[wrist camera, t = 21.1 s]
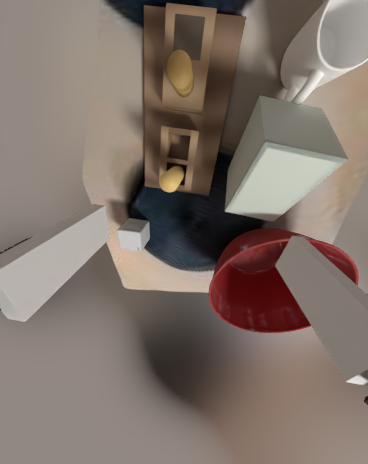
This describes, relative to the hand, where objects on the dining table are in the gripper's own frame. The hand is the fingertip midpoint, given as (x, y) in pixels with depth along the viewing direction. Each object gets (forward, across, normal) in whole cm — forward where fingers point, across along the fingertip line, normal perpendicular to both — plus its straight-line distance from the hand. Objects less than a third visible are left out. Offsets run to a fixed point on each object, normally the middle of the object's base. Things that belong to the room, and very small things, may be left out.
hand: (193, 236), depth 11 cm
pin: (+28, -5, 0) cm, 28 cm away
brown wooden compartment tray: (+29, -5, +10) cm, 31 cm away
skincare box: (+29, -15, -18) cm, 37 cm away
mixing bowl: (+29, +20, -20) cm, 40 cm away
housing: (+25, +11, +7) cm, 28 cm away
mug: (+29, +14, +18) cm, 37 cm away
